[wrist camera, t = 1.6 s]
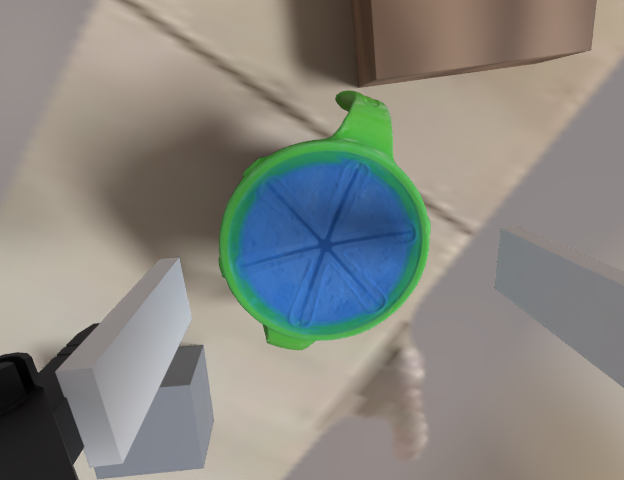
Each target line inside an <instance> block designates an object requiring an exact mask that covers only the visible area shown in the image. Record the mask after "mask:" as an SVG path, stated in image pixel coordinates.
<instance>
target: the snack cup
mask: <svg viewBox="0 0 624 480" xmlns="http://www.w3.org/2000/svg"><path fill="white" fill-rule="evenodd" d="M335 100H336V102H337V104H338V105H339V106H340V107H341V108H342V109H344V110H346V111H348V112H349V113H348V114H347V116H346V117H345V119H344V121H343V123H342V124H341V126H340V127H339V129H338V130H337V131H336V132H335V133H334V134H333V135H332V136H331V137H329V138H327V139H322V140H312V141H306V142H302V143H297V144H294V145H291V146H288V147H286V148H283V149H281V150H279V151H277V152H275V153H273V154H271V155H270V156H267V157H261V158H259V159H257V160H256V161H255V162H254V163H253V164H252V165H251V166H249V167H248V168H247V169H246V170H245V171H244V173H243V179H242V181H241V182H240V183H239V185H238V186H237V188H236V189H235V191H234V193H233V194H232V196H231V198H230V200H229V201H228V204H227V207H226V209H225V212H224V215H223V218H222V222H221V228H220V236H219V253H220V256H219V267H220V271H221V273H222V276H223V277H224V278H225V279H226V281H227V284H228V286H229V288H230V290H231V292H232V294H233V295H234V296H235V297H236V299H237V301H238V302H239V303H240V304H241V305H242V307H243V308H244V309H245V310H246V311H247V312H248V313H249V314H250V315H251V316H252V317H254V318H255V319H256V320H257V321H259V322H260V323H262V324H263V328H264V332H265V335H266V341H267V343H269V344H272V345H275V346H278V347H281V348H286V349H291V350H303V349H305V348H307V347H309V346H310V345H311V344H312V343H314V342H315V341H318V340H335V339H341V338H346V337H350V336H353V335H356V334H359V333H362V332H364V331H366V330H369V329H371V328H373V327H374V326H376V325H377V324H379V323H381V322H382V321H384V320H385V319H387V318H388V317H389V316H390V315H391V314H393V313H394V312H395V311H396V310H397V309H398V308H400V307H401V305H402V304H403V303H404V302H405V301H406V300H407V298H408V297H409V296H410V294H411V293H412V292H413V290H414V289H415V287H416V286H417V284H418V282H419V280H420V278H421V275H422V273H423V270H424V268H425V265H426V261H427V256H428V251H429V235H430V227H431V223H430V220H429V218H428V216H427V212H426V208H425V205H424V203H423V200H422V199H421V195H420V193H419V192H418V190H417V188H416V187H415V185H414V184H413V183H412V181H411V180H410V179H409V177H408V176H407V175H406V174H405V173H404V172H403V171H402V170H401V169H400V168H399V167H398V166H397V165H396V163H395V161H394V158H393V137H392V123H391V117H390V114H389V111H388V109H387V107H386V106H385V104H384V103H382V102H380V101H378V100H374V99H372V98H370V97H367V96H364V95H362V94H360V93H358V92H355V91H343V92H341V93H339V94H337V95H336V98H335Z"/></svg>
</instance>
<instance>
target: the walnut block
mask: <svg viewBox="0 0 624 480" xmlns="http://www.w3.org/2000/svg"><path fill="white" fill-rule="evenodd" d="M596 1H597V0H352V11H353V23H354V36H355V48H356V60H357V72H358V84H359V88H361V87H369V86H376V85H383V84H391V83H398V82H405V81H412V80H420V79H427V78H434V77H442V76H449V75H456V74H463V73H471V72H478V71H485V70H493V69H500V68H507V67H515V66H522V65H529V64H536V63H541V62H545V61H549V60H553V59H557V58H561V57H565V56H569V55H573V54H577V53H582V52H586V51H590V50H591V46H592V37H593V28H594V19H595V10H596Z"/></svg>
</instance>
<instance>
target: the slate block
mask: <svg viewBox="0 0 624 480" xmlns="http://www.w3.org/2000/svg"><path fill="white" fill-rule="evenodd" d="M213 422H214V417H213V409H212V402H211V395H210V388H209V381H208V374H207V367H206V360H205V353H204V345H200V346H187V347H178V349H177V351H176V353H175V355H174V357H173V359H172V361H171V363H170V365H169V367H168V370H167V372H166V374H165V376H164V378H163V380H162V382H161V384H160V386H159V388H158V391H157V393H156V395H155V397H154V399H153V401H152V403H151V405H150V407H149V410H148V412H147V414H146V416H145V418H144V420H143V422H142V424H141V426H140V428H139V431H138V433H137V435H136V437H135V439H134V441H133V443H132V445H131V447H130V449H129V452H128V454H127V456H126V458H125V460H124V462H123V464H115V465H107V466H98V467H94V469H95V473H96V476H97V479H104V478H113V477H123V476H133V475H143V474H152V473H162V472H172V471H182V470H191V469H201V468H204V464H205V459H206V454H207V450H208V445H209V441H210V436H211V431H212V427H213Z"/></svg>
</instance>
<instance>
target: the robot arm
mask: <svg viewBox="0 0 624 480" xmlns="http://www.w3.org/2000/svg"><path fill="white" fill-rule="evenodd" d="M494 288H495V289H496V290H498V291H499V292H500V293H501V294H503V295H504V296H505V297H506V298H508V299H509V300H510V301H512V302H513V303H514V304H516V305H517V306H518V307H519V308H521V309H522V310H524V311H525V312H526V313H527V314H529V315H530V316H531V317H533V318H534V319H535V320H537V321H538V322H539V323H540V324H542V325H543V326H544V327H545V328H547V329H548V330H549V331H551V332H552V333H553V334H555V335H556V336H557V337H558V338H560V339H561V340H562V341H564V342H565V343H566V344H568V345H569V346H570V347H571V348H573V349H574V350H576V351H577V352H578V353H579V354H581V355H582V356H583V357H584V358H586V359H587V360H588V361H590V362H591V363H592V364H594V365H595V366H596V367H598V368H599V369H600V370H601V371H603V372H604V373H605V374H607V375H608V376H609V377H611V378H612V379H613V380H614V381H616V382H617V383H618V384H620V385H621V386H622V387H624V271H621V270H619V269H617V268H614V267H612V266H609V265H607V264H605V263H603V262H600V261H598V260H596V259H593V258H591V257H588V256H586V255H584V254H582V253H579V252H577V251H575V250H572V249H570V248H568V247H565V246H563V245H561V244H558V243H556V242H554V241H551V240H549V239H547V238H544V237H542V236H539V235H537V234H535V233H532V232H530V231H528V230H525V229H523V228H521V227H508V228H501V231H500V240H499V250H498V260H497V269H496V278H495V287H494ZM191 319H192V317H191V312H190V307H189V302H188V297H187V292H186V287H185V282H184V277H183V272H182V267H181V263H180V258H179V257H177V258H166V259H159V260H158V261H157V262H156V264H155V265H154V266H153V267H152V268H151V269H150V270H149V271H148V272H147V273H146V274H145V275H144V276H143V278H142V279H141V280H140V281H139V282H138V283H137V284H136V285H135V286H134V287H133V288H132V289H131V290H130V292H129V293H128V294H127V295H126V296H125V297H124V298H123V299H122V300H121V301H120V302H119V303H118V304H117V306H116V307H115V308H114V309H113V310H112V311H111V312H110V313H109V314H108V315H107V316H106V317H105V318H104V320H103V321H102V322H101V323H97V324H93V325H91V326H89V327H88V328H86V329H85V330H83V331H81V332H80V333H78V334H77V335H76V336H75V337H74V338H73V339H72V340H71V341H70V342H69V343H68V344H67V345H66V347H64V348H63V349H62V350H61V351H60V352H59V353H58V354H57V357H54V358H53V359H52V360H51V361H50V362H49V363H48V364H47V365H46V366H45V367H44V368H43V369H42V370H41V371H40V372H39V373H38V372H37V369H36V367H35V364H34V362H33V359H32V357H31V356H30V355H29V354H28V353H19V352H17V353H11V354H4V355H1V356H0V480H79V479H78V477H77V474H76V471H75V469H74V466H73V464H74V463H75V461H76V459H77V458H78V456H79V455H80V453H81V451H82V450H84V453H85V455H86V458H87V461H88V464H89V466H90V467H98V466H107V465H115V464H123V462H124V460H125V458H126V456H127V454H128V452H129V449H130V447H131V445H132V443H133V441H134V439H135V437H136V435H137V433H138V431H139V428H140V426H141V424H142V422H143V420H144V418H145V416H146V414H147V412H148V410H149V407H150V405H151V403H152V401H153V399H154V397H155V395H156V393H157V391H158V388H159V386H160V384H161V382H162V380H163V378H164V376H165V374H166V372H167V370H168V367H169V365H170V363H171V361H172V359H173V357H174V355H175V353H176V351H177V349H178V346H179V344H180V342H181V340H182V338H183V336H184V334H185V332H186V330H187V328H188V325H189V323H190V321H191Z"/></svg>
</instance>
